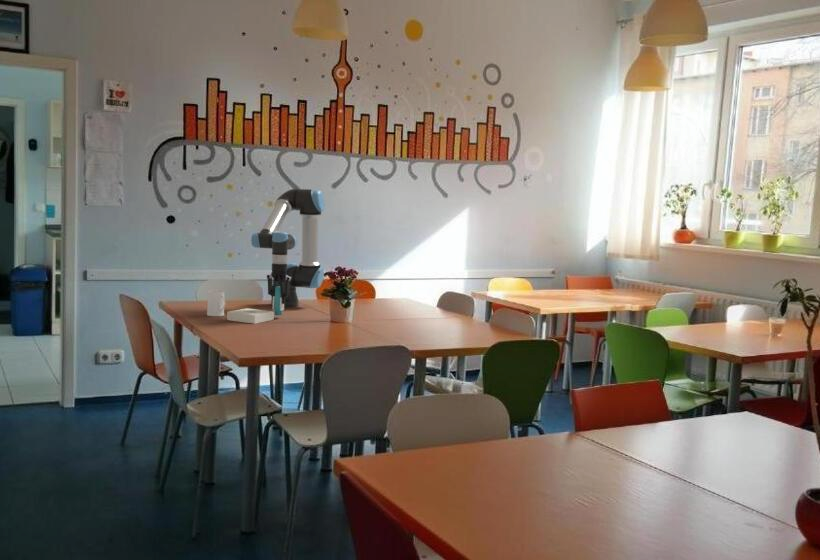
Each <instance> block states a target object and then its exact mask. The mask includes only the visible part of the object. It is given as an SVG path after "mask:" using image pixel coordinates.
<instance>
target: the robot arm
mask: <svg viewBox="0 0 820 560" xmlns="http://www.w3.org/2000/svg"><path fill="white" fill-rule="evenodd" d="M325 202H326V200H325V196H324V193H323V192H322V191H321V190H319V189H313V188H312V189H307V188H291V189H289V190H287V191H284V192H283V193H282V194H281V195H280V196H278V198H277V199H276V200H275V203H274V206H273V207H274V208H273V209H272V211H271V212H270V215H269V216H268V218H267V219H266V221H265V223H264V225H263V226H262V228H261V230H260V231H259V232H253V234H252V235H251V240H250V242H251V246H252V247H253V248H258V249H271V273H270V274H267V275H266V279H267V295H269V296H271V300H270V302H271V306H272V310H274V311H275V287H280V289H281V297H280V311H281V310H282V311H284V310H285V307H297V306H299V305H300V303H299V302H300V301H299V297H298V293H297V288H304V289H305V288H306V289H319V288H320V287H321V286H322V284H323V280H324V275H325V270H324V268H323V267H322V266H321V263H320V262H319V259H318V258H319V257H318V255H319V253H318V252H319V251H318V249H319V247H318V246H319V217H320V216H321V215H322V213H323V212H324V211H325V209H326V208H325V207H326V203H325ZM292 211H299V215H300V217H301V218H302V219H301V221H302V222H301V223H302V224H301V225H302V227H301V229H302V230H301V231H302V233H301V239H302V240H301V261H299V264H298V263H296V262H292V263H291V262H290V263H288V250H292V249H295V247H296V246H297V243H298V241H297V240H298V239H297V238H296V236H295V235H294V234H288V232H286V231H279V230H280V227H281V226H282V224H283V222H284V221H285V219H286V217H287V215H289V214H290V213H291V212H292Z"/></svg>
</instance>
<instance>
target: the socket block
mask: <svg viewBox="0 0 820 560" xmlns="http://www.w3.org/2000/svg"><path fill="white" fill-rule="evenodd" d="M226 314H227V315H226V316H227V317H226V320H227V321H233V322H240V323H247V324H259V323H260V324H261V323H264V322H269V321H273V320H274V319H275V318H274V317H275V315H274V314H275V311H272V310H264V309H255V308H249V307H246V308H241V309H236V310H230V311H227V312H226Z"/></svg>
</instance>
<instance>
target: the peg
mask: <svg viewBox="0 0 820 560" xmlns="http://www.w3.org/2000/svg"><path fill="white" fill-rule="evenodd" d="M280 297H281V289H280V287H275V310H274V316H282V315H283V310H281V311H280Z"/></svg>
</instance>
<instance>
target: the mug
mask: <svg viewBox="0 0 820 560" xmlns="http://www.w3.org/2000/svg"><path fill="white" fill-rule="evenodd" d="M226 305H227V304H226V298H225V290H219V289H218V290H217V289H215V290H213V289H212V290H207V308H206V309H207V311H206V315H207V316H208V317H224V316H225V307H226Z"/></svg>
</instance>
